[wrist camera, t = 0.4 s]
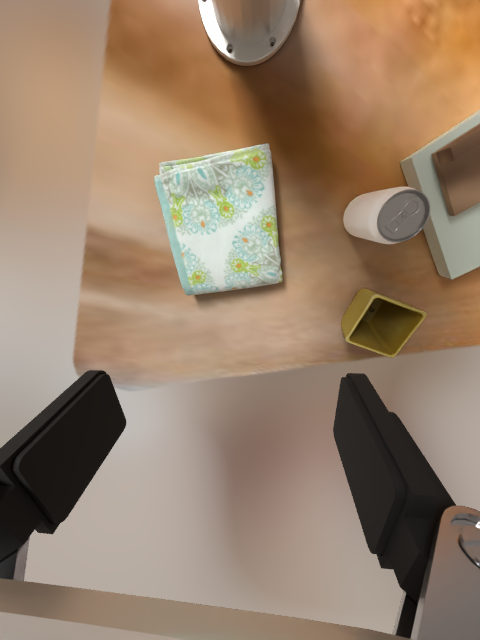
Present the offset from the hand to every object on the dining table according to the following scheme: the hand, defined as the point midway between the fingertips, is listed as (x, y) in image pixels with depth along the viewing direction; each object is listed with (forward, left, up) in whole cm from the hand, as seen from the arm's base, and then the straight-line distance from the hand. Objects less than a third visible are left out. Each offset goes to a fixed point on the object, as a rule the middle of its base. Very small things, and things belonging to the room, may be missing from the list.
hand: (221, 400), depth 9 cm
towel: (-7, -2, -36) cm, 37 cm away
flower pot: (+19, +12, -36) cm, 43 cm away
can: (+4, +18, -36) cm, 40 cm away
